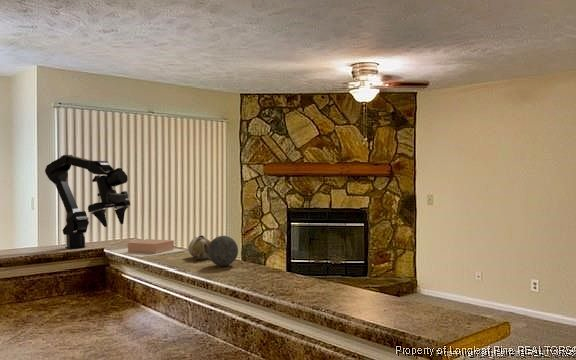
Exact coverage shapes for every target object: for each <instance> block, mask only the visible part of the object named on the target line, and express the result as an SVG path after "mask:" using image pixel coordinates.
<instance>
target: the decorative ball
mask: <svg viewBox="0 0 576 360" xmlns="http://www.w3.org/2000/svg"><path fill="white" fill-rule="evenodd" d="M238 254H239V247H238V244H237V243H236V241H235V240H234V239H233V238H232V237H230V236H227V235H219V236H217V237H215V238H214V239H212V240H211V243H210V244H209V247H208V255H209V258H208V259H210V261H211V262H212V263H213V264H214V265H217V266H220V267H227V266H229V265H231V264H233V263H234V262H235V260H236V259H237V257H238V256H239V255H238Z"/></svg>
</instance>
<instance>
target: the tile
mask: <svg viewBox="0 0 576 360" xmlns="http://www.w3.org/2000/svg"><path fill="white" fill-rule="evenodd" d="M127 248H128V252H137V253H154V254H156V253H161V252H165V251H169V250H173V249H175V241H174V240H172V239H151V238H150V239H149V238H148V239H147V238H146V239H141V240H134V241H129V242H127Z"/></svg>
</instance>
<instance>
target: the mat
mask: <svg viewBox="0 0 576 360" xmlns="http://www.w3.org/2000/svg"><path fill="white" fill-rule="evenodd" d="M185 251H186V252H187V250H186V249H179V248H174V249H173V250H169V251H165V252H161V253H156V254H154V253H137V252H128V247H126V248H119V249H112V250H111V249H110V250H109V252H110V253H114V254H115V253H116V254H123V255H127V256H132V257H138V258H144V257H149V256H150V257H151V256H157V255H158V256H159V257H160V256H162V255H163V256H166V254H168V255H172V254H171V253H174V254H179V253H178V252H181V253H185Z"/></svg>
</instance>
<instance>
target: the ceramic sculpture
mask: <svg viewBox="0 0 576 360" xmlns="http://www.w3.org/2000/svg"><path fill="white" fill-rule="evenodd" d="M211 241H212V240H211ZM211 241H210V240H209V239H207V238H206V237H205V236H204V235H199V236H193V239H191V241H190V242H189V245H188V247H187V250H188V253H189V254H190V255H191V257H193V259H195V260H199V259H200V260H206V259H210V258H209V255H208V247H209V244H210V243H211Z"/></svg>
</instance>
